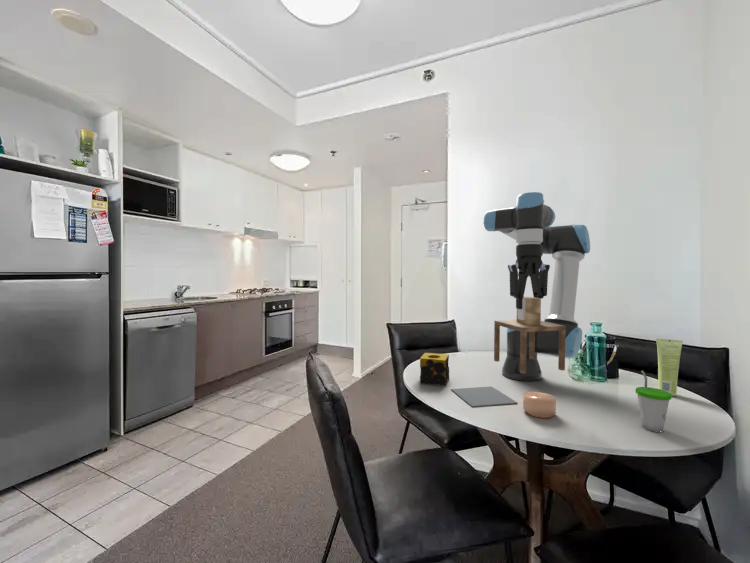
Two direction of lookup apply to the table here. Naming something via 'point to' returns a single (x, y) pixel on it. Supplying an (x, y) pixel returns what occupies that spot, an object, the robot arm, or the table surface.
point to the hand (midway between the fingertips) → (528, 319)
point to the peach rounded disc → (539, 404)
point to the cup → (652, 406)
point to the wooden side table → (530, 333)
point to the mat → (483, 396)
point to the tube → (668, 364)
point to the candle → (434, 369)
